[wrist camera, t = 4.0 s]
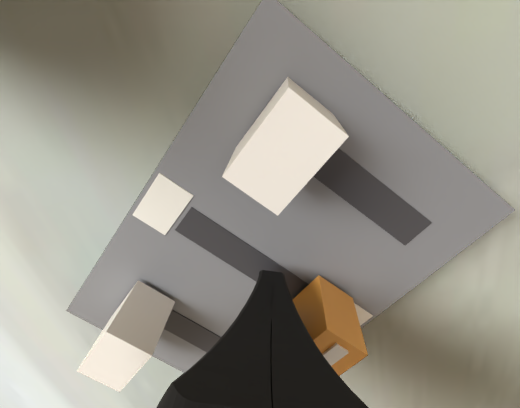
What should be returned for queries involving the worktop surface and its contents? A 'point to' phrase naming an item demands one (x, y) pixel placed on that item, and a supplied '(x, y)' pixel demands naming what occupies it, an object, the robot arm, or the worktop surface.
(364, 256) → the breaker panel
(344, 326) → the breaker
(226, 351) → the robot arm
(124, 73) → the worktop surface
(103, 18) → the worktop surface
